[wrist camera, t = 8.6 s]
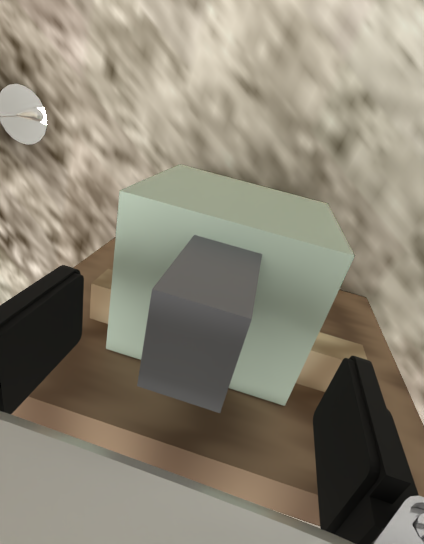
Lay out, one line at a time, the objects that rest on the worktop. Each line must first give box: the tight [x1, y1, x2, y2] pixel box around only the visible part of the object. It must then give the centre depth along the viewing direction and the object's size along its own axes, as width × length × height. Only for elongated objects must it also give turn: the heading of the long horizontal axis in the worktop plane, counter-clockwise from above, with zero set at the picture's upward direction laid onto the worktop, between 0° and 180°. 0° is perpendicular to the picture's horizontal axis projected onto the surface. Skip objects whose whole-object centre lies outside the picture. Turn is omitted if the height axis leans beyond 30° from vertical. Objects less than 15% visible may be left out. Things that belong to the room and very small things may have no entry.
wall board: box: [11, 237, 424, 526], centre depth 24 cm, size 24×10×20 cm, turn 77°
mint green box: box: [106, 164, 355, 413], centre depth 17 cm, size 10×9×14 cm
